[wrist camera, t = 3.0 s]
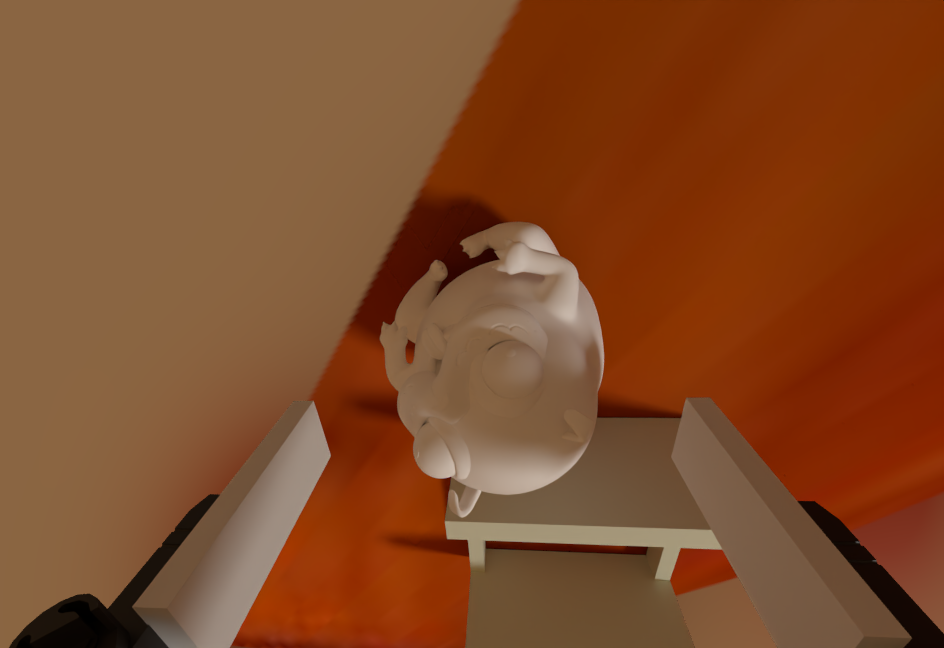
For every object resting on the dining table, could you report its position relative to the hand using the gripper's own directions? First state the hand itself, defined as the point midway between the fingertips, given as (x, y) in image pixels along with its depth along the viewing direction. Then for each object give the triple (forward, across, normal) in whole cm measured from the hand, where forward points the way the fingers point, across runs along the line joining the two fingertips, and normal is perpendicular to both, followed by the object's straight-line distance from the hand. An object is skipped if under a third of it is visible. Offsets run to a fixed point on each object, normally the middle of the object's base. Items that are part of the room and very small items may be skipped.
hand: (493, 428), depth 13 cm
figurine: (+10, 0, 0) cm, 10 cm away
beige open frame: (+10, +6, -17) cm, 20 cm away
